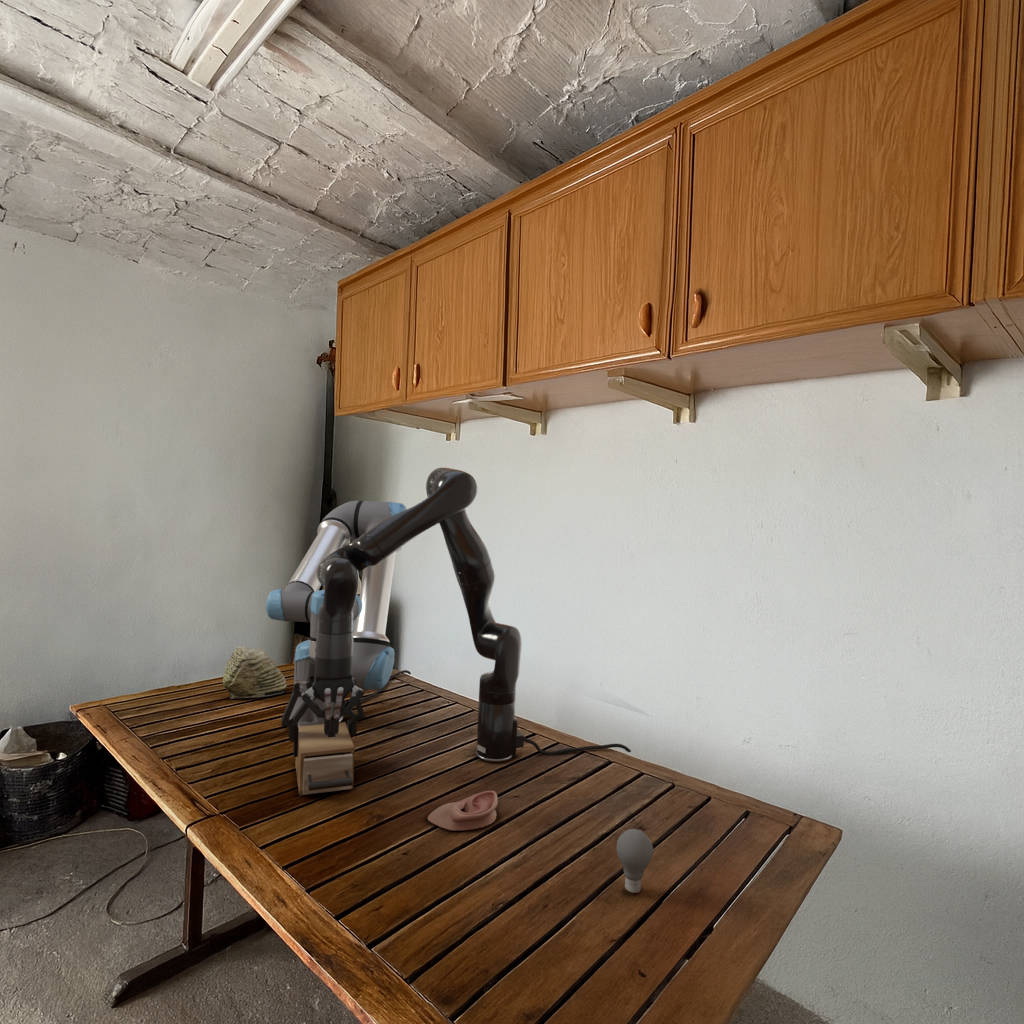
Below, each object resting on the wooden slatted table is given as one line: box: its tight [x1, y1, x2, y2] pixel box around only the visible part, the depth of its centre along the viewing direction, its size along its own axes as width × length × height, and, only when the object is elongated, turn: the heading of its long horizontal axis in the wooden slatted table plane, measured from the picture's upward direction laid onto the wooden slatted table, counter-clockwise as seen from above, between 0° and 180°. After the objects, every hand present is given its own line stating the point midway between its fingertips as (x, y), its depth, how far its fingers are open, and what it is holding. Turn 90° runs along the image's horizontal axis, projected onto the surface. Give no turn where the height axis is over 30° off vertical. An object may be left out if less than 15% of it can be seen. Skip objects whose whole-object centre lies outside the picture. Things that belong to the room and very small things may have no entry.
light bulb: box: [615, 828, 654, 894], centre depth 106 cm, size 6×6×10 cm
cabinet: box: [294, 721, 356, 796], centre depth 143 cm, size 16×11×9 cm
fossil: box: [222, 646, 288, 699], centre depth 198 cm, size 9×18×15 cm, turn 132°
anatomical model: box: [427, 790, 499, 832], centre depth 127 cm, size 13×4×12 cm
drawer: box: [302, 752, 354, 796], centre depth 138 cm, size 21×10×7 cm, turn 22°
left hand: (322, 751), depth 146 cm, fingers closed on cabinet, 11 cm apart
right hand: (331, 735), depth 131 cm, fingers closed
